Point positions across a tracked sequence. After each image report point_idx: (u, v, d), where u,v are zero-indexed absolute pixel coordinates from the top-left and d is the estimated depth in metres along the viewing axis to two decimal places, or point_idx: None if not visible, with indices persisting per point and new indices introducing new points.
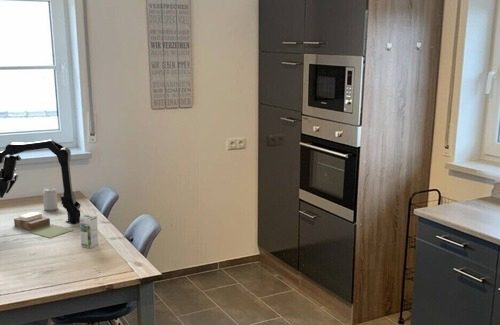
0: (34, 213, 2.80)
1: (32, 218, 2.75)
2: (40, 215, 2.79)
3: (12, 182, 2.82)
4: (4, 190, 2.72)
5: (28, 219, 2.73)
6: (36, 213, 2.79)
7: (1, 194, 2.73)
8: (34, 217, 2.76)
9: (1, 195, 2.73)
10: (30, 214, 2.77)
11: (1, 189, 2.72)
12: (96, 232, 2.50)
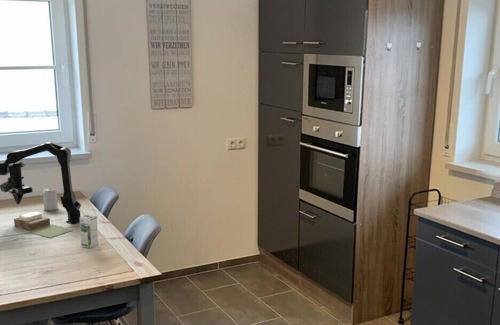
0: (34, 213, 2.80)
1: (32, 218, 2.75)
2: (40, 215, 2.79)
3: None
4: (21, 195, 2.81)
5: (28, 219, 2.73)
6: (36, 213, 2.79)
7: (18, 200, 2.81)
8: (34, 217, 2.76)
9: (18, 201, 2.81)
10: (30, 214, 2.77)
11: (18, 196, 2.80)
12: (96, 232, 2.50)
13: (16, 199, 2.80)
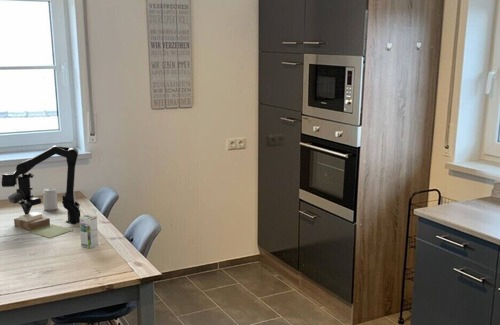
0: (34, 213, 2.79)
1: (33, 218, 2.75)
2: (41, 215, 2.79)
3: None
4: (30, 206, 2.78)
5: (29, 219, 2.73)
6: (37, 213, 2.79)
7: (27, 212, 2.78)
8: (35, 217, 2.76)
9: (27, 212, 2.79)
10: (31, 214, 2.77)
11: (27, 207, 2.77)
12: (96, 232, 2.50)
13: (25, 210, 2.78)
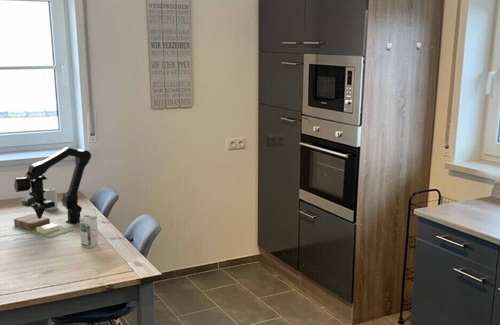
0: None
1: None
2: None
3: None
4: (43, 209, 2.73)
5: None
6: None
7: (39, 215, 2.73)
8: None
9: (40, 216, 2.73)
10: None
11: (40, 210, 2.72)
12: (96, 232, 2.50)
13: (38, 213, 2.72)
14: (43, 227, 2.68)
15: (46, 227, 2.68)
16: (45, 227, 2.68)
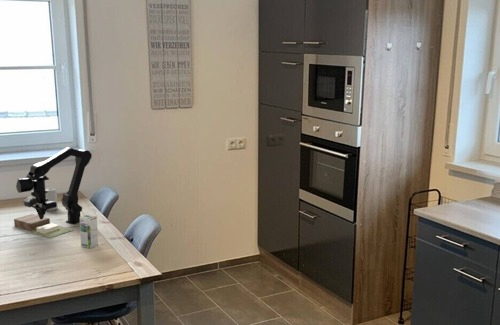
0: None
1: None
2: None
3: None
4: (45, 210, 2.72)
5: None
6: None
7: (41, 215, 2.72)
8: None
9: (42, 216, 2.72)
10: None
11: (42, 210, 2.71)
12: (96, 232, 2.50)
13: (39, 214, 2.71)
14: (43, 227, 2.68)
15: (46, 227, 2.68)
16: (45, 227, 2.68)
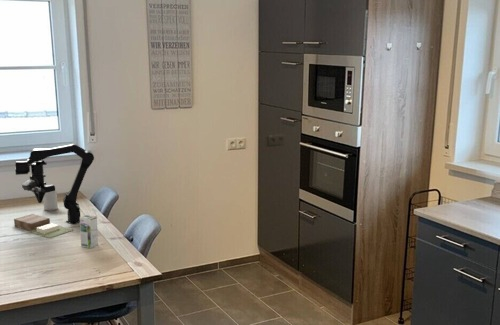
0: None
1: None
2: None
3: None
4: (43, 194, 2.77)
5: None
6: None
7: (40, 199, 2.76)
8: None
9: (40, 200, 2.77)
10: None
11: (40, 194, 2.75)
12: (96, 232, 2.50)
13: (38, 198, 2.76)
14: (43, 227, 2.68)
15: (46, 227, 2.68)
16: (45, 227, 2.68)
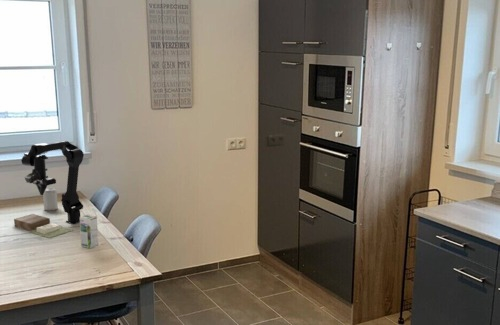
0: None
1: None
2: None
3: None
4: (45, 186, 2.92)
5: None
6: None
7: (42, 191, 2.91)
8: None
9: (42, 192, 2.92)
10: None
11: (42, 187, 2.90)
12: (96, 232, 2.50)
13: (40, 190, 2.91)
14: (43, 227, 2.68)
15: (46, 227, 2.68)
16: (45, 227, 2.68)
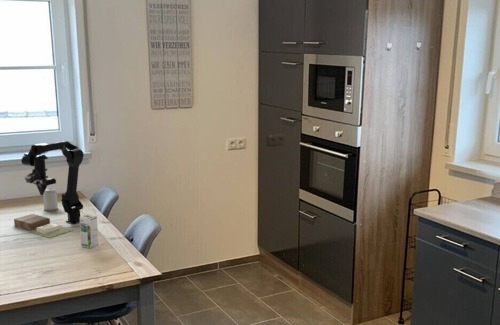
0: None
1: None
2: None
3: None
4: (45, 186, 2.92)
5: None
6: None
7: (42, 191, 2.91)
8: None
9: (42, 192, 2.92)
10: None
11: (42, 187, 2.90)
12: (96, 232, 2.50)
13: (40, 190, 2.91)
14: (43, 227, 2.68)
15: (46, 227, 2.68)
16: (45, 227, 2.68)
